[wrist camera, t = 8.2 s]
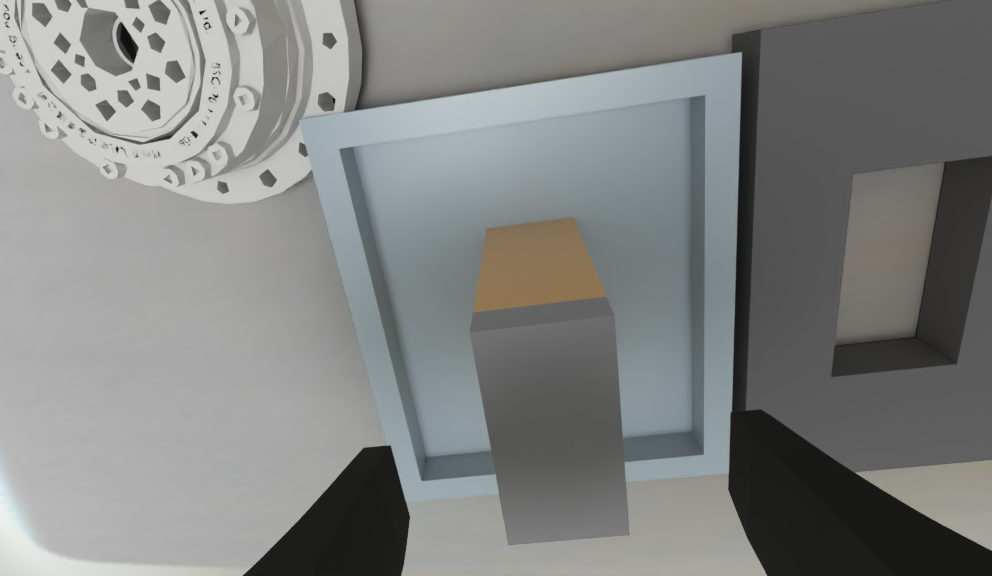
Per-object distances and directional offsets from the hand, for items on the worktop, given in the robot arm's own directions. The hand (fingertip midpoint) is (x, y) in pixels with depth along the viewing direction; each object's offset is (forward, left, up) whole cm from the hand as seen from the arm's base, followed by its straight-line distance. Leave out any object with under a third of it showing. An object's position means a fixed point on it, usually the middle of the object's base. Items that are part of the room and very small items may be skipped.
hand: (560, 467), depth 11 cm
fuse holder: (-12, 0, -9) cm, 15 cm away
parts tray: (0, 0, -9) cm, 9 cm away
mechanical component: (+9, -10, -10) cm, 17 cm away
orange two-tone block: (0, 0, -9) cm, 9 cm away
